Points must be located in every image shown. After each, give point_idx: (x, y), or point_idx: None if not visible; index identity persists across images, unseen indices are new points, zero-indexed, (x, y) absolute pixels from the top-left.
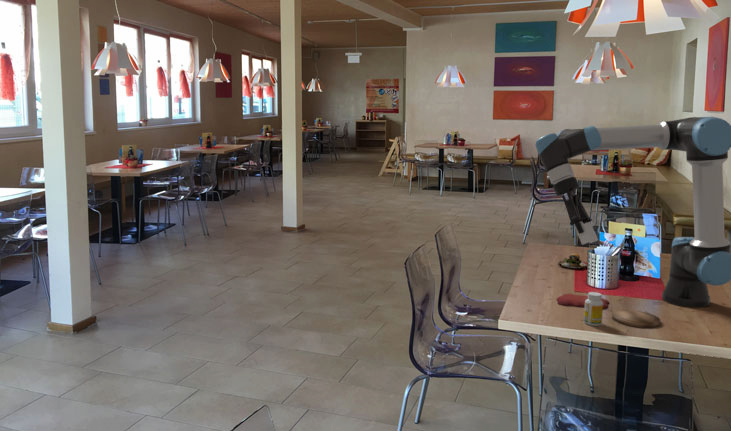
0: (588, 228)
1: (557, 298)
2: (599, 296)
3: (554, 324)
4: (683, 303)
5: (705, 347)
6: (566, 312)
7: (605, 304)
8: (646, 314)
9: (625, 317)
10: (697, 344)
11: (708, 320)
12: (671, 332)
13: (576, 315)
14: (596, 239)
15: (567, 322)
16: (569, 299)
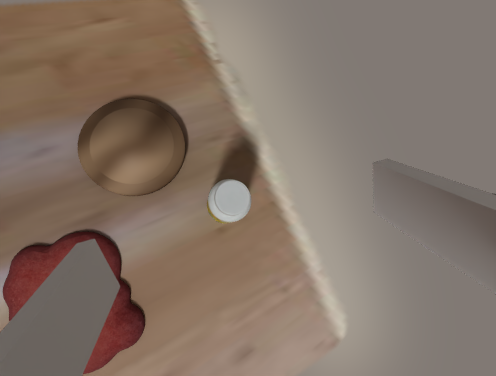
0: (46, 367)
1: (101, 365)
2: (238, 181)
3: (288, 256)
4: None
5: (205, 17)
6: (192, 283)
7: (71, 239)
8: (99, 131)
9: (160, 158)
10: (199, 28)
11: (11, 32)
12: (164, 74)
13: (197, 255)
14: (93, 250)
15: (257, 244)
16: (107, 326)
